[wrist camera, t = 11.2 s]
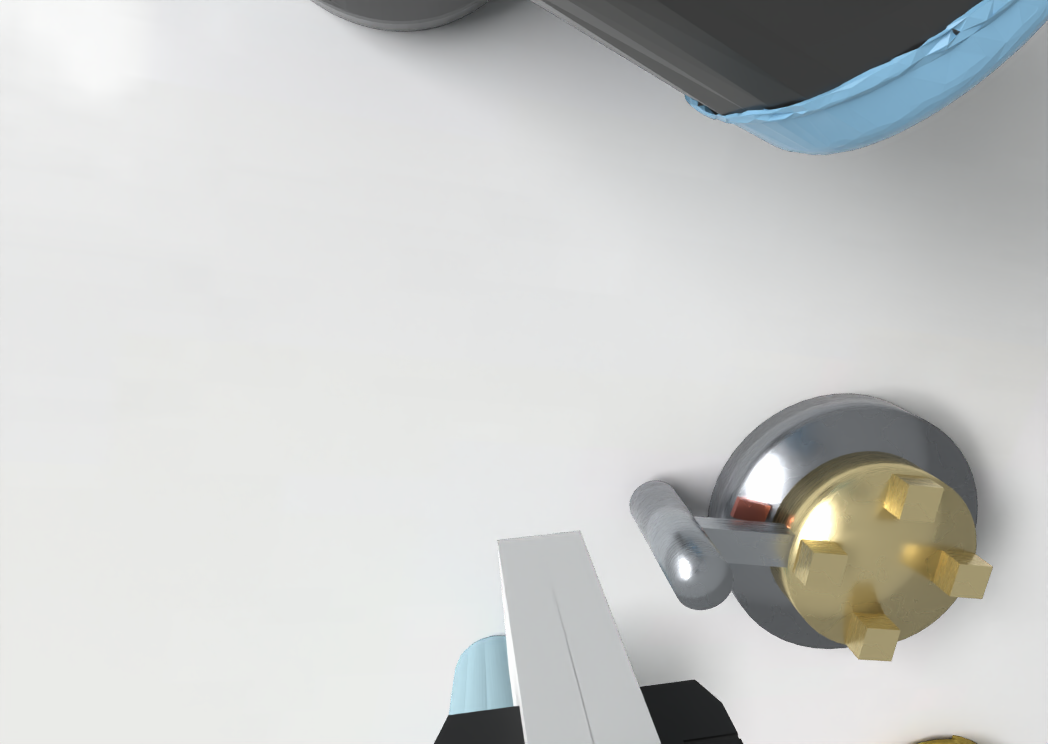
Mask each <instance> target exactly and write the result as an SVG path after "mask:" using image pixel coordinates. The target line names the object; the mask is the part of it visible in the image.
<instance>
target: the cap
mask: <svg viewBox="0 0 1048 744" xmlns="http://www.w3.org/2000/svg"><path fill="white" fill-rule="evenodd" d="M865 451H877V452H885V453H890V454H894V455H897V456H900V457H902V458H904V459H906V460H908V461H910V462H912V463H913V464H915V465H917V466H918V467H920V468H921V469H923V470H925V471H926V472H928V473H929V474H931V475H933V476H934V477H936V478H937V479H939V480H941V481H942V482H944V483H945V484H947V485H948V486H949V487H951V488H952V489H953V490H954V491H955V492H956V493H957V494H958V495H959V496H960V497H961V498H962V499H963V501H964V502H965V504H966V505H967V507H968V509H969V511H970V513H971V515H972V518H973V521H974V525H975V527H976V522H977V507H978V505H977V493H976V487H975V483H974V479H973V475H972V473H971V470H970V468H969V465H968V463H967V461H966V459H965V458H964V456H963V454H962V453H961V451H960V449H959V448H958V447H957V446H956V445H955V444H954V442H953V441H952V440H951V439H950V438H949V437H948V436H947V435H946V434H944V433H943V432H942V431H941V430H940V429H939V428H937V427H935V426H934V425H932V424H930V423H929V422H927V421H925V420H924V419H922V418H920V417H918V416H916V415H914V414H912V413H910V412H908V411H906V410H904V409H902V408H900V407H899V406H897V405H895V404H892V403H890V402H887V401H885V400H883V399H879V398H875V397H871V396H868V395H859V394H832V395H826V396H819V397H815V398H812V399H808V400H805V401H802V402H799V403H797V404H795V405H792V406H790V407H788V408H786V409H784V410H782V411H780V412H779V413H777V414H775V415H773V416H772V417H770V418H769V419H767V420H766V421H765V422H763V423H762V424H761V425H759V426H758V427H757V428H756V429H755V430H754V431H753V432H751V433H750V434H749V435H748V436H747V437H746V438H745V439H744V440H743V441H742V443H741V444H740V445H739V446H738V447H737V448H736V450H735V451H734V452H733V454H732V455H731V457H730V458H729V460H728V461H727V463H726V464H725V466H724V468H723V470H722V472H721V474H720V476H719V478H718V480H717V482H716V485H715V488H714V491H713V493H712V497H711V502H710V506H709V513H708V517H711V518H722V519H734V520H746V521H758V522H770V523H772V521H773V518H774V516H775V514H776V512H777V510H778V508H779V506H780V504H781V503H782V501H783V499H784V498H785V496H786V495H787V494H788V493H789V491H790V490H791V489H792V488H793V487H794V486H795V485H796V484H797V483H798V482H799V481H800V480H801V479H802V478H803V477H804V476H805V475H807V474H808V473H809V472H810V471H812V470H813V469H815V468H817V467H818V466H820V465H821V464H823V463H825V462H827V461H830V460H832V459H834V458H837V457H840V456H843V455H846V454H851V453H855V452H865ZM728 565H729V566H730V568H731V569H732V572H733V576H734V583H733V587H732V590H731V591H732V593H733V594H734V596H735V597H736V599H737V600H738V602H739V603H740V604H741V606H742V607H743V608H744V610H745V611H746V612H747V614H748V615H749V616H750V617H751V618H752V619H753V620H754V621H755V622H756V623H757V624H758V625H759V626H761V627H762V628H764V629H765V630H767V631H768V632H769V633H771V634H773V635H775V636H777V637H779V638H781V639H783V640H785V641H788V642H791V643H794V644H797V645H801V646H806V647H811V648H824V649H834V648H846V647H848V646H847V645H845V644H841V643H837V642H835V641H833V640H830V639H828V638H826V637H824V636H823V635H821V634H819V633H818V632H817V631H816V630H814V629H813V628H812V627H811V626H810V625H809V624H808V623H807V622H806V621H805V619H804V618H803V617H802V616H801V615H800V613H799V612H798V611H797V610H796V608H795V607H794V606H793V605H792V603H791V602H790V601H789V600H788V598H787V597H786V596H785V595H784V593H783V592H782V591H781V590H780V588H779V587H778V585H777V583H776V582H775V580H774V577H773V575H772V573H771V569H770V566H760V565H747V564H733V563H728Z"/></svg>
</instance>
